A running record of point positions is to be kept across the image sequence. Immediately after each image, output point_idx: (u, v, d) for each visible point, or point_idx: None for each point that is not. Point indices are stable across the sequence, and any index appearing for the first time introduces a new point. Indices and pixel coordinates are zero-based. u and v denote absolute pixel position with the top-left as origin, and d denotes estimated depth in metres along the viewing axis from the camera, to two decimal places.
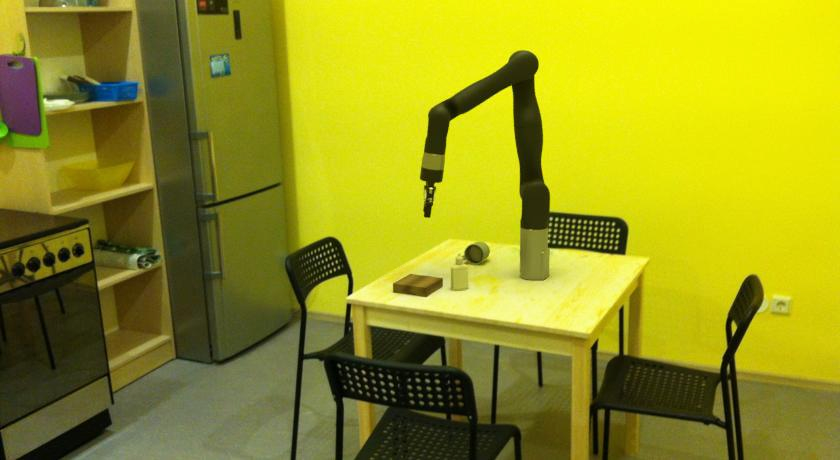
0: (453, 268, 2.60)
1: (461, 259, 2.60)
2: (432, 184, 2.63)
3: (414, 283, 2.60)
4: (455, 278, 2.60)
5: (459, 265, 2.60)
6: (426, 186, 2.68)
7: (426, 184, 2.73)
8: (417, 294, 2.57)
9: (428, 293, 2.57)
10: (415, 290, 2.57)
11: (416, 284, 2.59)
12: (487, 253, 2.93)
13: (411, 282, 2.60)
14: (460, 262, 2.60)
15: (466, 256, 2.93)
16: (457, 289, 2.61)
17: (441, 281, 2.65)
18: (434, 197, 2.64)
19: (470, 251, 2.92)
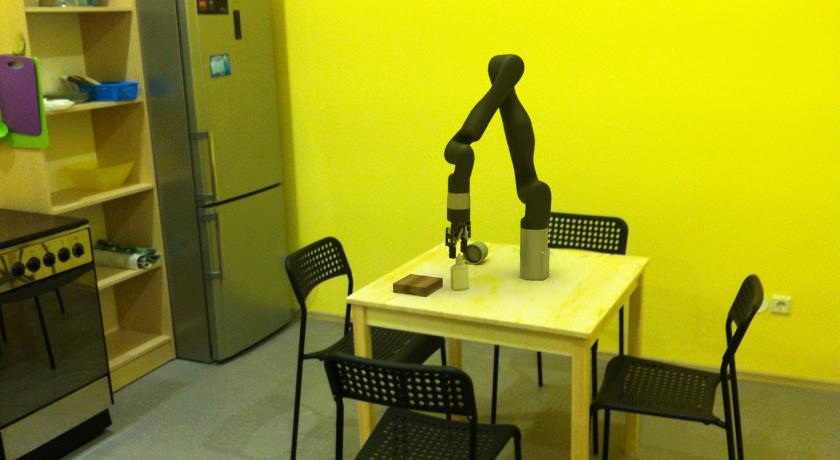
0: (453, 268, 2.60)
1: (461, 259, 2.60)
2: (454, 224, 2.55)
3: (414, 283, 2.60)
4: (455, 278, 2.60)
5: (459, 265, 2.60)
6: None
7: None
8: (417, 294, 2.57)
9: (428, 293, 2.57)
10: (415, 290, 2.57)
11: (416, 284, 2.59)
12: (486, 253, 2.93)
13: (411, 282, 2.60)
14: (460, 262, 2.60)
15: (465, 256, 2.93)
16: (457, 289, 2.61)
17: (441, 281, 2.65)
18: (458, 237, 2.55)
19: (469, 251, 2.93)
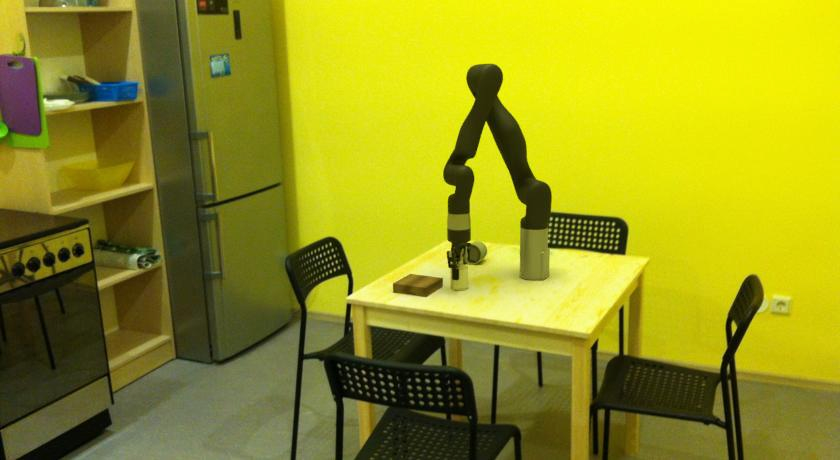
0: None
1: None
2: (455, 245, 2.56)
3: (414, 283, 2.60)
4: None
5: (459, 265, 2.60)
6: None
7: None
8: (417, 294, 2.57)
9: (428, 293, 2.57)
10: (415, 290, 2.57)
11: (416, 284, 2.59)
12: (484, 253, 2.93)
13: (411, 282, 2.60)
14: (460, 262, 2.60)
15: None
16: (457, 289, 2.61)
17: (441, 281, 2.65)
18: (459, 259, 2.57)
19: None
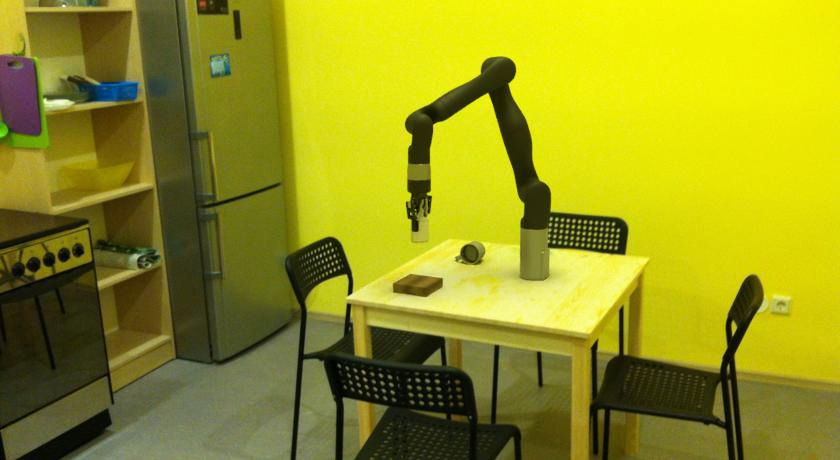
0: None
1: (421, 211, 2.56)
2: (414, 195, 2.53)
3: (414, 283, 2.60)
4: None
5: (419, 217, 2.57)
6: None
7: None
8: (417, 294, 2.57)
9: (428, 293, 2.57)
10: (415, 290, 2.57)
11: (416, 284, 2.59)
12: (483, 253, 2.93)
13: (411, 282, 2.60)
14: (420, 214, 2.56)
15: (462, 256, 2.93)
16: (416, 242, 2.58)
17: (441, 281, 2.65)
18: (419, 210, 2.54)
19: (466, 251, 2.93)
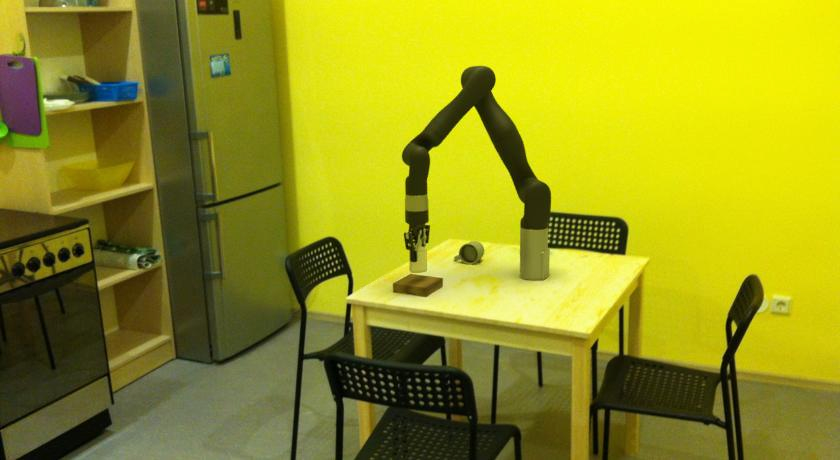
0: None
1: (419, 241, 2.59)
2: (412, 226, 2.55)
3: (414, 283, 2.60)
4: None
5: (417, 247, 2.59)
6: None
7: None
8: (417, 294, 2.57)
9: (428, 293, 2.57)
10: (415, 290, 2.57)
11: (416, 284, 2.59)
12: (482, 253, 2.93)
13: (411, 282, 2.60)
14: (418, 244, 2.59)
15: (461, 256, 2.94)
16: (415, 271, 2.60)
17: (441, 281, 2.65)
18: (417, 241, 2.56)
19: (465, 251, 2.93)
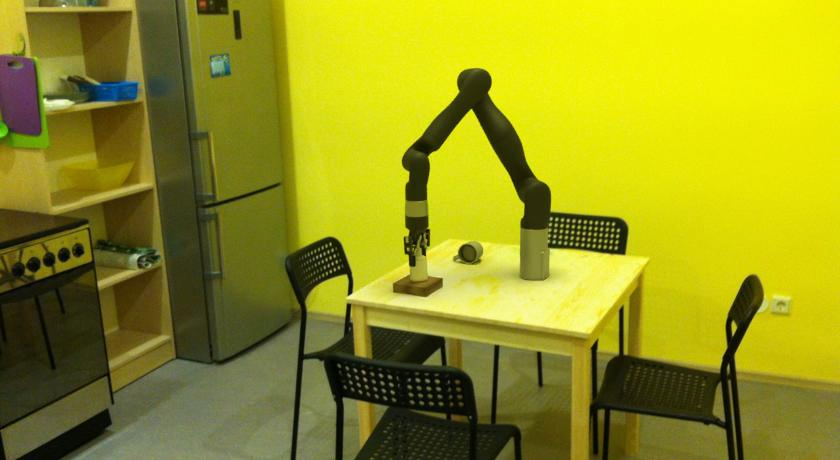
0: None
1: (419, 250, 2.60)
2: (412, 232, 2.55)
3: (414, 283, 2.60)
4: (413, 269, 2.60)
5: (417, 256, 2.60)
6: None
7: None
8: (417, 294, 2.57)
9: (428, 293, 2.57)
10: (415, 290, 2.57)
11: (416, 284, 2.59)
12: (481, 252, 2.94)
13: (411, 282, 2.60)
14: (418, 253, 2.60)
15: (460, 255, 2.94)
16: (416, 280, 2.61)
17: (441, 281, 2.65)
18: (416, 245, 2.56)
19: (464, 250, 2.94)
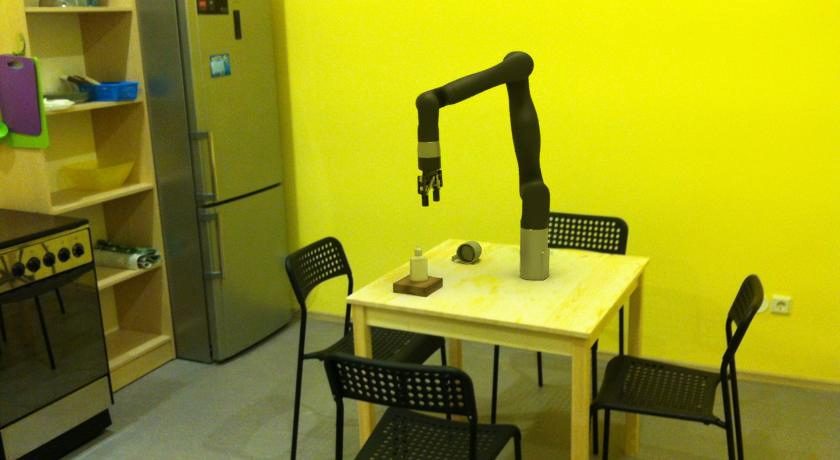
0: (411, 259, 2.60)
1: (420, 250, 2.60)
2: (426, 172, 2.60)
3: (414, 283, 2.60)
4: (413, 269, 2.60)
5: (418, 256, 2.60)
6: None
7: None
8: (417, 294, 2.57)
9: (428, 293, 2.57)
10: (415, 290, 2.57)
11: (416, 284, 2.59)
12: (479, 252, 2.94)
13: (411, 282, 2.60)
14: (419, 253, 2.60)
15: (458, 255, 2.94)
16: (416, 280, 2.61)
17: (441, 281, 2.65)
18: (429, 185, 2.61)
19: (462, 250, 2.94)
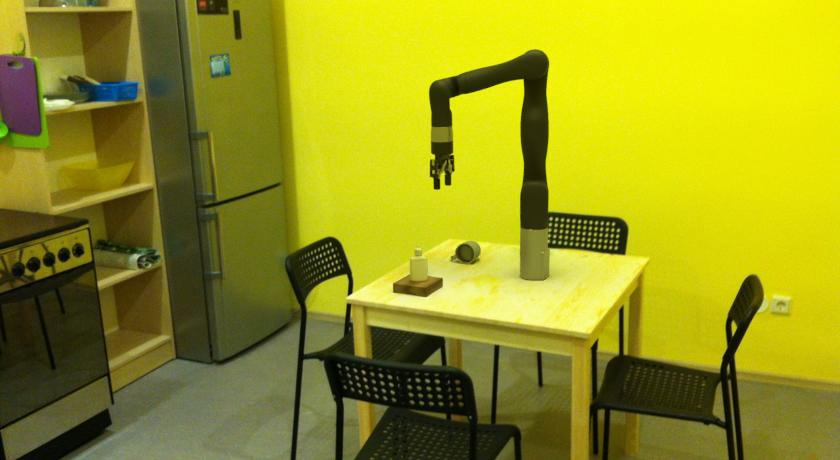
0: (411, 259, 2.60)
1: (420, 250, 2.60)
2: (438, 156, 2.69)
3: (414, 283, 2.60)
4: (413, 269, 2.60)
5: (418, 256, 2.60)
6: None
7: None
8: (417, 294, 2.57)
9: (428, 293, 2.57)
10: (415, 290, 2.57)
11: (416, 284, 2.59)
12: (478, 252, 2.94)
13: (411, 282, 2.60)
14: (419, 253, 2.60)
15: (457, 255, 2.94)
16: (416, 280, 2.61)
17: (441, 281, 2.65)
18: (441, 169, 2.70)
19: (461, 250, 2.94)
